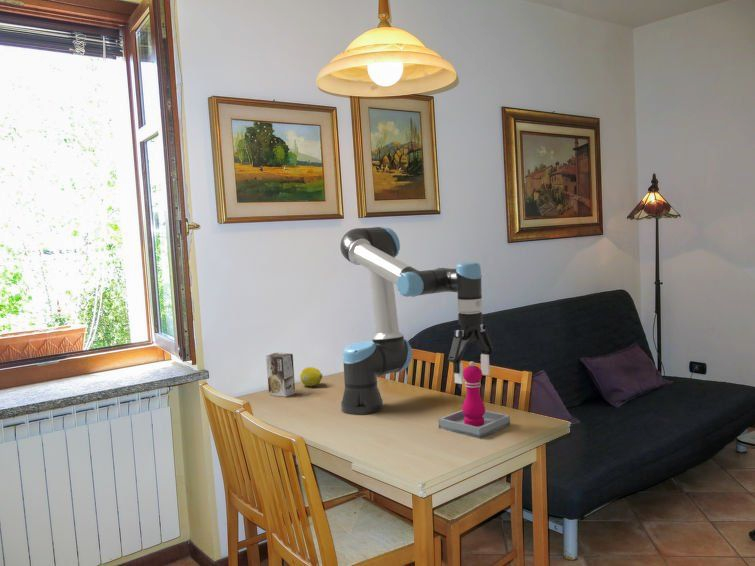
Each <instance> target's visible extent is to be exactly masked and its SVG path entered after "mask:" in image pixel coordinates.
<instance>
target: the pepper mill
mask: <svg viewBox="0 0 755 566" xmlns="http://www.w3.org/2000/svg"><path fill="white" fill-rule="evenodd" d="M482 378H483V374H482V371H481V367H478V366H477V365H476V363H475V362H474V361H470V362H469V365H468V366H467V367H465V368H464V369H463V380H465V381H464V386H465V388H466V395H465V400H464V401H463V404H462V406H461V408H462V409H461V410H462V412H463V414H464V415H465V416H466V417H465V418H464V423H465V424H467V425H472V426H481V425H483V424H484V417H482V416H483V415H484V413H485V410H486V405H485V403H484V401H483V399H482V397H481V393H480V387H481V386H482V385H481V383H482V382H481V379H482Z"/></svg>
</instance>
